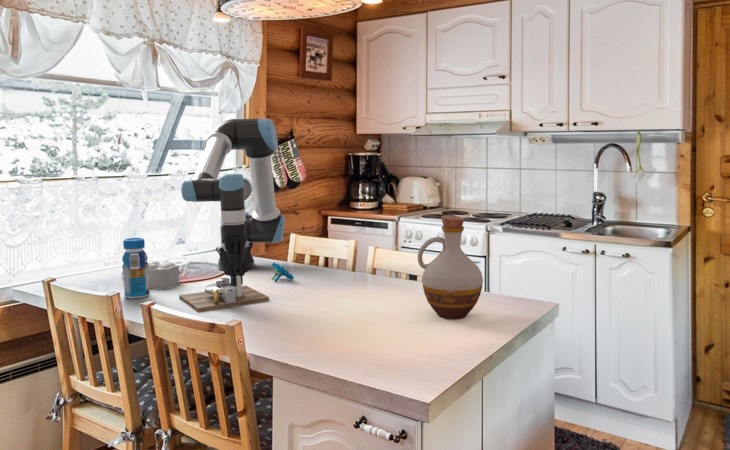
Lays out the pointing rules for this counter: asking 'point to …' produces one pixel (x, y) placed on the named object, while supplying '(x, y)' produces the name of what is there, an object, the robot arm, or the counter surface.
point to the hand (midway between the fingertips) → (237, 295)
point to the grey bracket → (223, 289)
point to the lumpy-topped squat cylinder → (163, 274)
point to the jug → (451, 274)
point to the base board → (206, 300)
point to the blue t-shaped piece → (281, 272)
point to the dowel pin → (216, 297)
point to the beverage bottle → (135, 269)
